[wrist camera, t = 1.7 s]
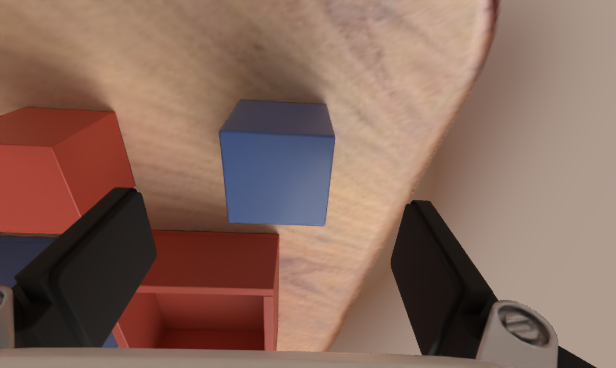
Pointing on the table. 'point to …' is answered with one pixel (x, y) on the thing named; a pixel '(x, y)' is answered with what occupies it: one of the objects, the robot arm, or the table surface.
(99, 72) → the table surface
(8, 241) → the blue bin
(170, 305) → the red bin
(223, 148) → the blue block
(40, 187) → the red block
